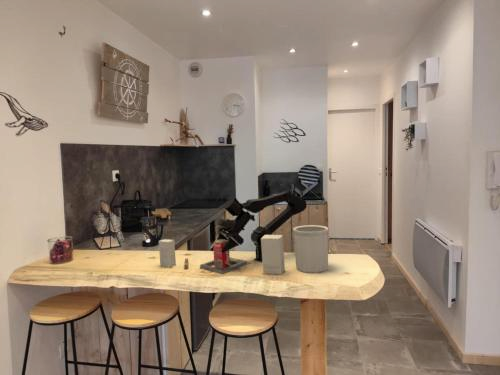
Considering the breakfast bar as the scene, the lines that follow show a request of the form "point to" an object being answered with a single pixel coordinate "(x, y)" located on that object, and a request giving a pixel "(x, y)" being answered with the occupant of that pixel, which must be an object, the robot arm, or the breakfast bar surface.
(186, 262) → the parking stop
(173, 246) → the skincare box
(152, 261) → the breakfast bar surface
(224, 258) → the soda can
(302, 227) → the utensil holder
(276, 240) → the skincare box
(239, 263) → the plate
